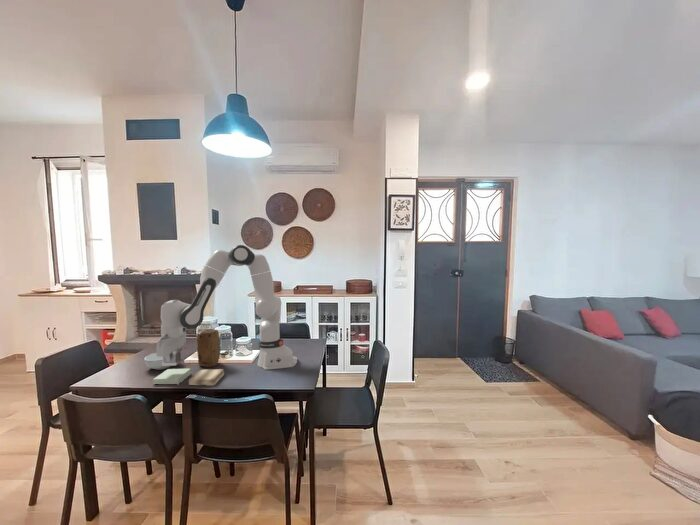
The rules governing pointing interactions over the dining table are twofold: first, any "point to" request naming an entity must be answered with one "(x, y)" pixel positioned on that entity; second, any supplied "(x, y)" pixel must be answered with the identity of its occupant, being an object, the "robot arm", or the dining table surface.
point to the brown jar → (208, 348)
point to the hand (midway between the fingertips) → (172, 359)
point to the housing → (173, 358)
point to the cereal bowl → (154, 362)
